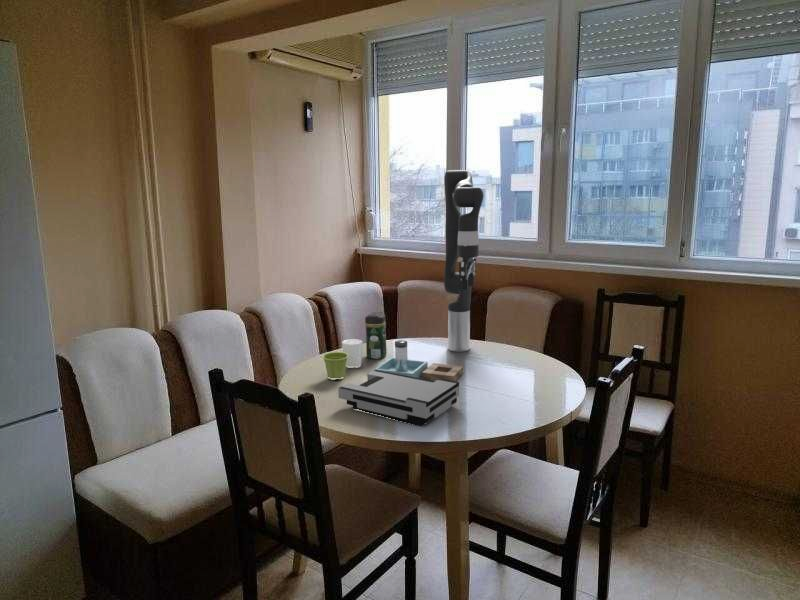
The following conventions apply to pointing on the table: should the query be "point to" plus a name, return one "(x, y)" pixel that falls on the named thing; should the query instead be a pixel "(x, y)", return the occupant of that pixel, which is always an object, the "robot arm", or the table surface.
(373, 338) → the coffee jar
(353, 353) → the white cup
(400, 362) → the bottle with dark cap
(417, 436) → the table surface
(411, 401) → the game console
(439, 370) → the brown square frame
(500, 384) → the table surface
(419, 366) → the parts tray
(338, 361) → the plant pot
